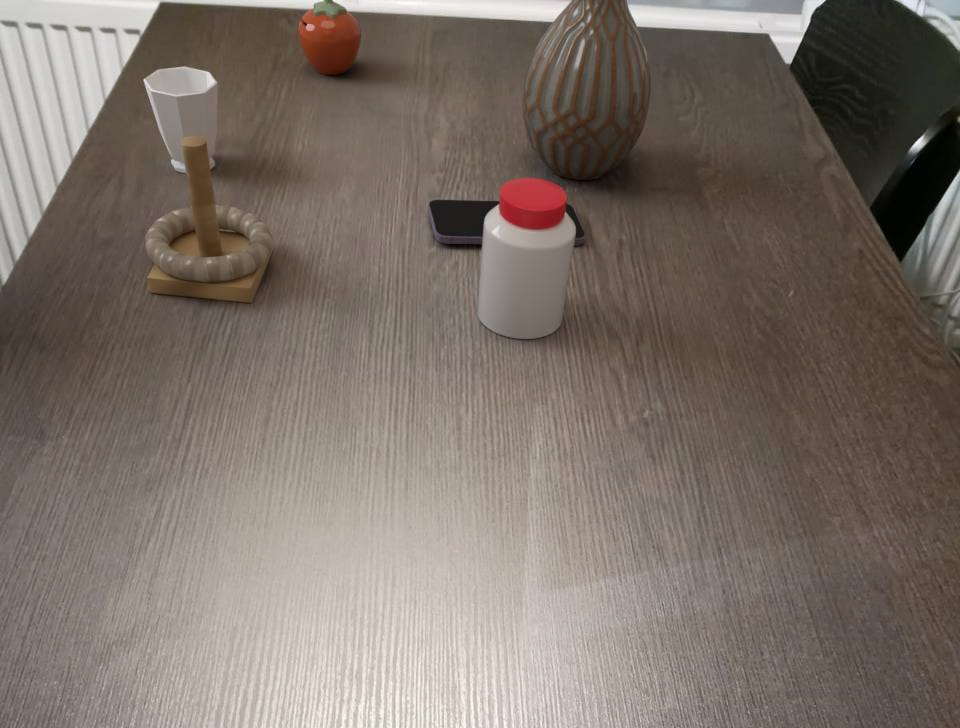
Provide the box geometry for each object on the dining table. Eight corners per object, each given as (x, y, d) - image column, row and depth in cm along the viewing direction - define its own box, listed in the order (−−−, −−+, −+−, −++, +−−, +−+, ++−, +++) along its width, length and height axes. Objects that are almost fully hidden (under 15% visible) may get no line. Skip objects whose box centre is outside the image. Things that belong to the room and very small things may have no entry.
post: (150, 293, 85) (121, 160, 76) (177, 240, 90) (153, 111, 82) (252, 303, 85) (236, 172, 76) (273, 250, 91) (260, 122, 82)
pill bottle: (498, 346, 83) (510, 223, 75) (463, 298, 88) (471, 177, 79) (577, 330, 86) (597, 210, 77) (539, 285, 90) (555, 166, 82)
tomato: (300, 55, 119) (295, -20, 113) (361, 57, 120) (359, -17, 114) (299, 80, 115) (294, 4, 108) (362, 82, 116) (361, 6, 109)
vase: (607, 135, 111) (637, -44, 98) (655, 190, 104) (694, 4, 90) (500, 143, 108) (516, -41, 94) (541, 200, 100) (564, 9, 87)
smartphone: (588, 239, 95) (436, 236, 92) (586, 250, 95) (436, 247, 93) (571, 202, 99) (426, 198, 96) (569, 212, 100) (426, 209, 97)
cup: (153, 179, 97) (137, 94, 91) (166, 135, 104) (152, 52, 97) (225, 182, 98) (213, 97, 92) (233, 137, 104) (223, 55, 98)
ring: (131, 278, 83) (126, 257, 82) (168, 216, 90) (164, 194, 89) (258, 292, 83) (256, 271, 82) (285, 228, 90) (283, 208, 89)
